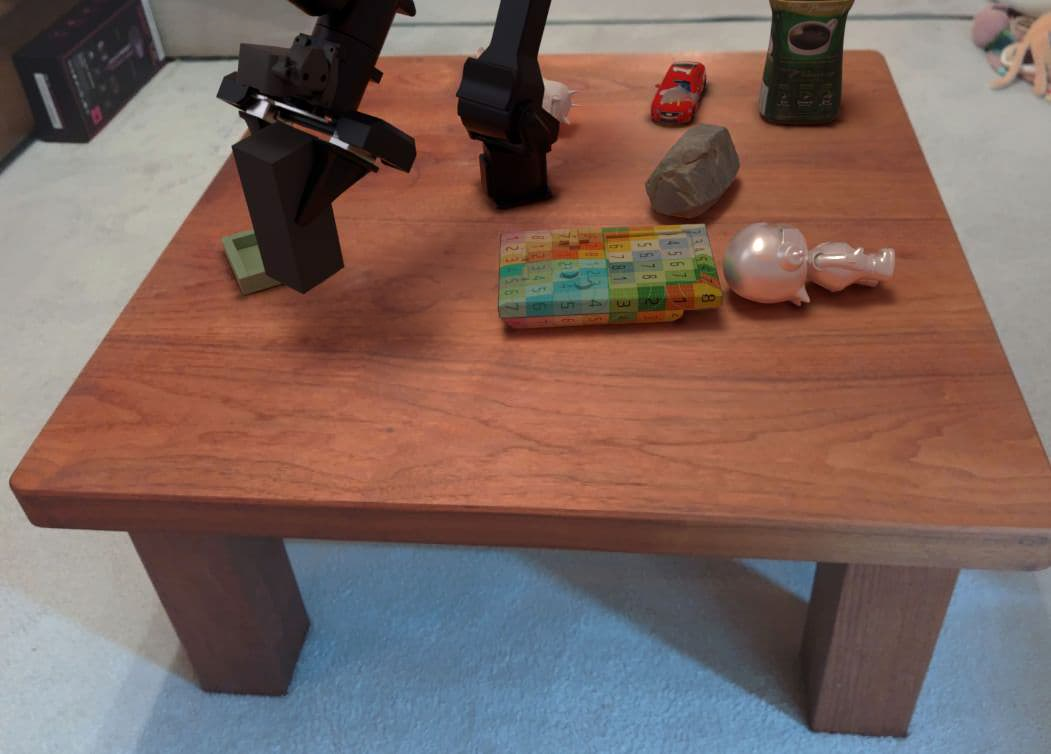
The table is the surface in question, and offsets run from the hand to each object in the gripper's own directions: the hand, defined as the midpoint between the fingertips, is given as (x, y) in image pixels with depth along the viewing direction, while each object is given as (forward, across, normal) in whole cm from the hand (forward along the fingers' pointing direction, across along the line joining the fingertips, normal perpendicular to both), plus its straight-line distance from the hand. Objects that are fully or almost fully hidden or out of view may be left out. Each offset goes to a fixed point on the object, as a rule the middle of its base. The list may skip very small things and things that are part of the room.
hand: (277, 215), depth 85 cm
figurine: (-12, +35, +32) cm, 48 cm away
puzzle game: (-5, +19, +24) cm, 31 cm away
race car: (-32, +4, +52) cm, 61 cm away
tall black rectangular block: (+4, 0, +6) cm, 7 cm away
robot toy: (-22, -9, +42) cm, 48 cm away
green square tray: (+5, -13, +15) cm, 20 cm away
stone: (-19, +17, +38) cm, 46 cm away
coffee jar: (-35, +18, +56) cm, 68 cm away
